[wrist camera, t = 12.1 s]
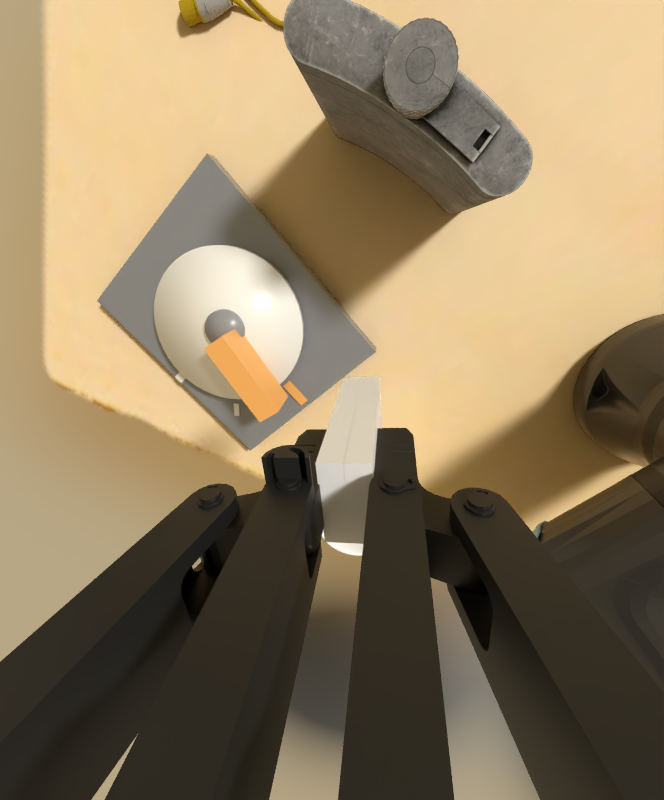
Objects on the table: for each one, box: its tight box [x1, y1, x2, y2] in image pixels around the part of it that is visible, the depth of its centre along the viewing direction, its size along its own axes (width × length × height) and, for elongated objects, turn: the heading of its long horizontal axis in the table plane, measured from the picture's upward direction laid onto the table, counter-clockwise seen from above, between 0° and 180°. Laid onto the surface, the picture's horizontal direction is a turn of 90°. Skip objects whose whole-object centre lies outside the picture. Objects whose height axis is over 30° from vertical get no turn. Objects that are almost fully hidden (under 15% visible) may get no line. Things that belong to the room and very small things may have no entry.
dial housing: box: [97, 154, 376, 450], centre depth 40 cm, size 24×20×2 cm
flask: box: [283, 0, 533, 214], centre depth 24 cm, size 4×14×18 cm, turn 59°
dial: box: [154, 245, 304, 422], centre depth 37 cm, size 18×16×5 cm
